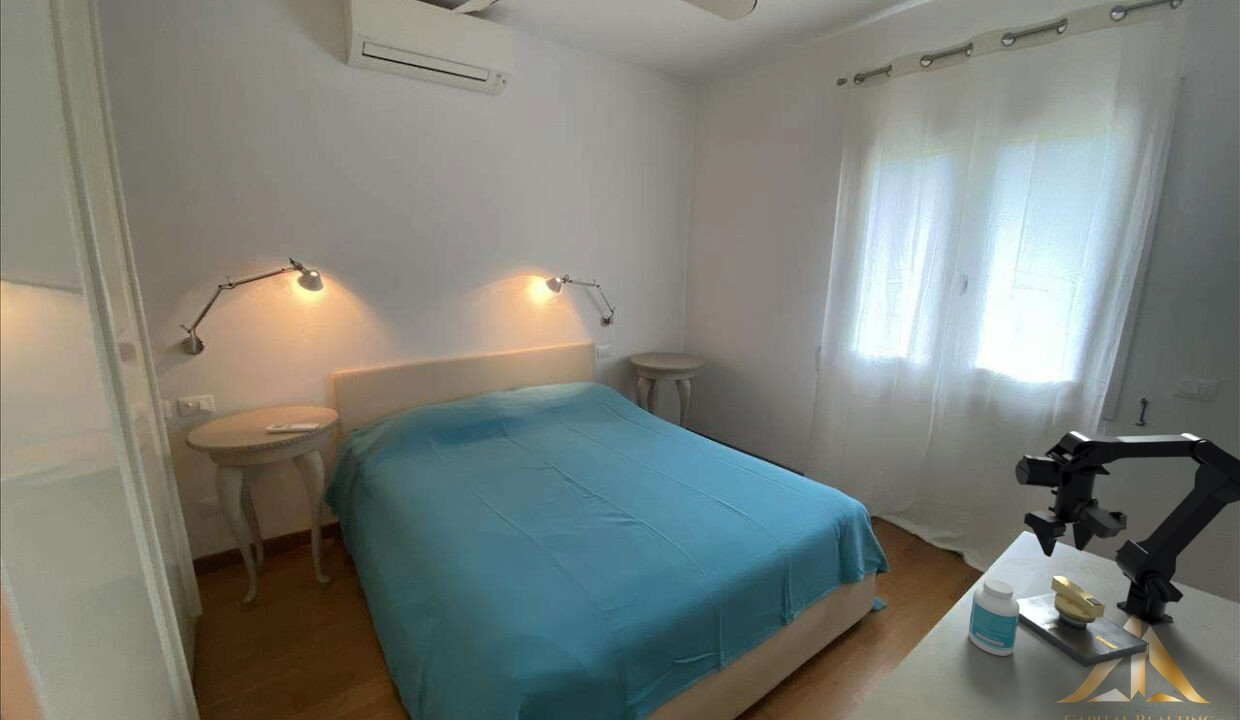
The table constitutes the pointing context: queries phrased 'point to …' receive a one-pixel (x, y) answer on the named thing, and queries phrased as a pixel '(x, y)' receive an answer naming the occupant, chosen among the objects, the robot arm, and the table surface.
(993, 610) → the pill bottle
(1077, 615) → the brass lock knob
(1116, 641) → the lock base
